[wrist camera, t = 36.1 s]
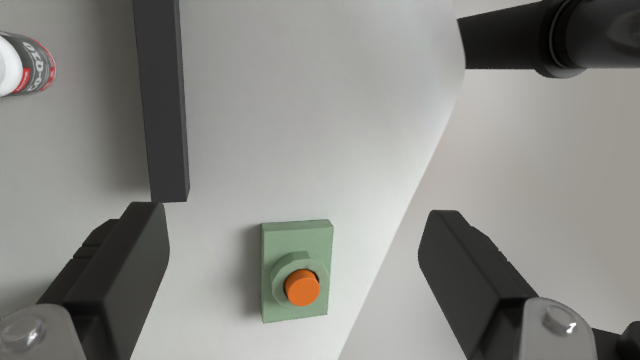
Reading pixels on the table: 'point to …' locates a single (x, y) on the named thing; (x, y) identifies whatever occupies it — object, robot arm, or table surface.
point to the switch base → (294, 266)
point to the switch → (302, 287)
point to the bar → (163, 97)
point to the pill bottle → (24, 65)
